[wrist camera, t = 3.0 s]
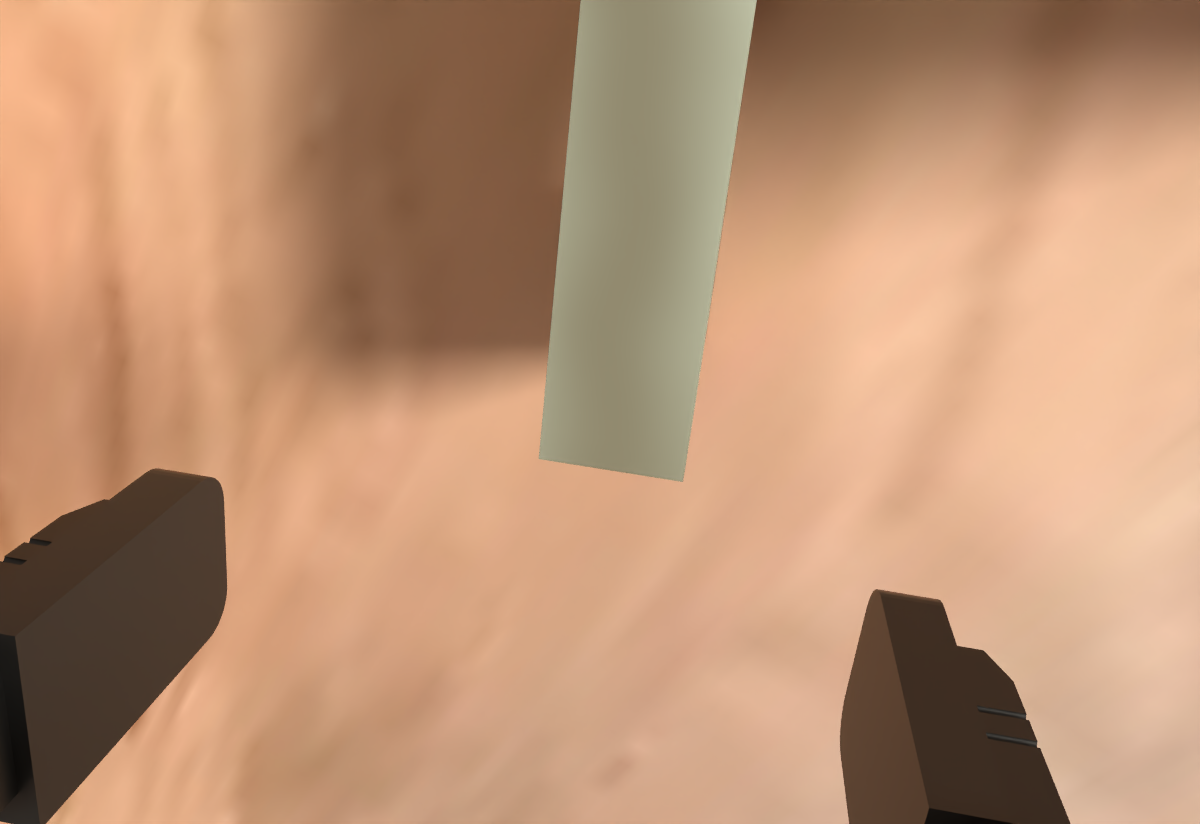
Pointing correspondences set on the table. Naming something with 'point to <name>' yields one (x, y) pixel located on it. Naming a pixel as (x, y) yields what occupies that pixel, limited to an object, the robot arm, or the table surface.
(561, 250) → the slotted plate
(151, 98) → the table surface
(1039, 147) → the table surface
